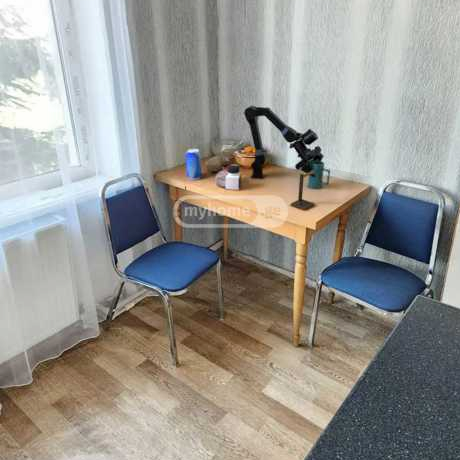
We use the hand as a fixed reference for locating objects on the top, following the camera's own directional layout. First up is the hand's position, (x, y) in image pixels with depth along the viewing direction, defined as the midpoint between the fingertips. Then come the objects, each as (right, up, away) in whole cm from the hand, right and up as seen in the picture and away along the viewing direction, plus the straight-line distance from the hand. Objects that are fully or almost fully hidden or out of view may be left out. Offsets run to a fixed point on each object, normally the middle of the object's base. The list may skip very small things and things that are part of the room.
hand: (318, 174), depth 206 cm
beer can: (-67, 0, +17) cm, 69 cm away
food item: (-48, -5, +7) cm, 49 cm away
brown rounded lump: (-54, +6, +31) cm, 63 cm away
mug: (0, -6, +2) cm, 7 cm away
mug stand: (-9, -15, -17) cm, 24 cm away
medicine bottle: (-43, -6, +2) cm, 43 cm away
